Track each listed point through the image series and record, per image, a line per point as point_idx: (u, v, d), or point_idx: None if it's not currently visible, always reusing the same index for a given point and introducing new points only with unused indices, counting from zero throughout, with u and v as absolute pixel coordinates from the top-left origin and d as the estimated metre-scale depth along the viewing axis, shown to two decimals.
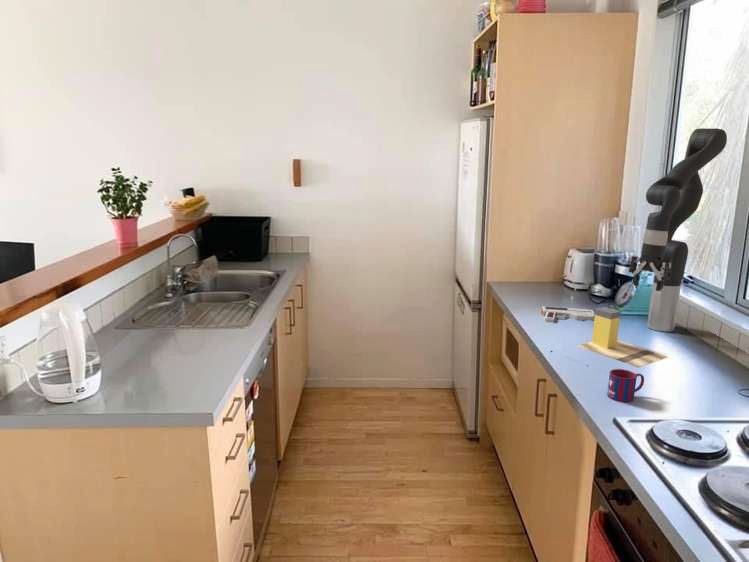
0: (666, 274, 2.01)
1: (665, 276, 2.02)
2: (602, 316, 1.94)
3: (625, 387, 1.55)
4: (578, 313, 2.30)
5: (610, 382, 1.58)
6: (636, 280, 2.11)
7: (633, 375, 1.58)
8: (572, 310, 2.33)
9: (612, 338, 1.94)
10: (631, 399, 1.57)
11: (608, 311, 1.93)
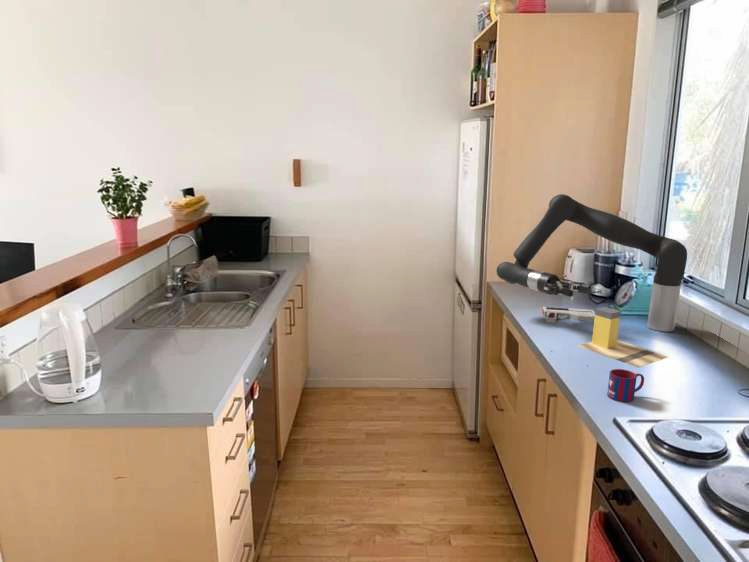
0: (552, 293, 2.04)
1: None
2: (602, 316, 1.94)
3: (625, 387, 1.55)
4: (579, 313, 2.29)
5: (610, 382, 1.58)
6: (582, 291, 2.06)
7: (633, 375, 1.58)
8: (573, 310, 2.33)
9: (612, 338, 1.94)
10: (631, 399, 1.57)
11: (608, 311, 1.93)
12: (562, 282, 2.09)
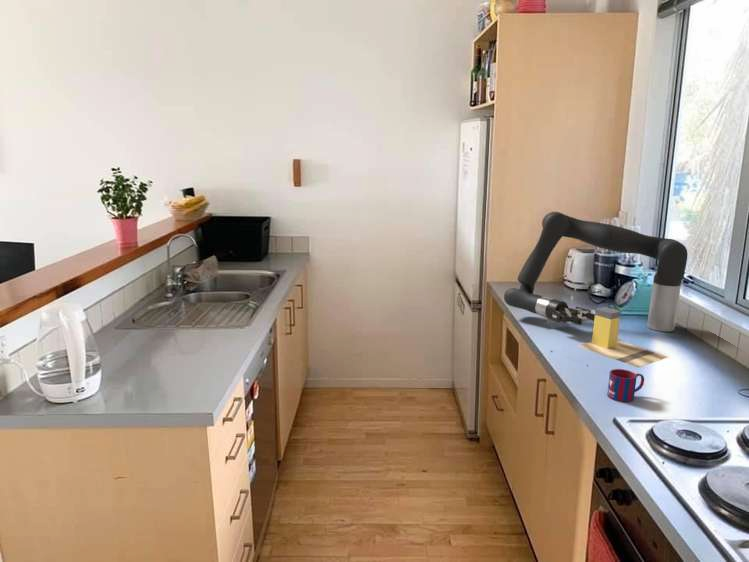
0: (561, 321, 2.02)
1: None
2: (602, 316, 1.94)
3: (625, 387, 1.55)
4: None
5: (610, 382, 1.58)
6: (591, 318, 2.05)
7: (633, 375, 1.58)
8: None
9: (612, 338, 1.94)
10: (631, 399, 1.57)
11: (608, 311, 1.93)
12: (571, 309, 2.08)
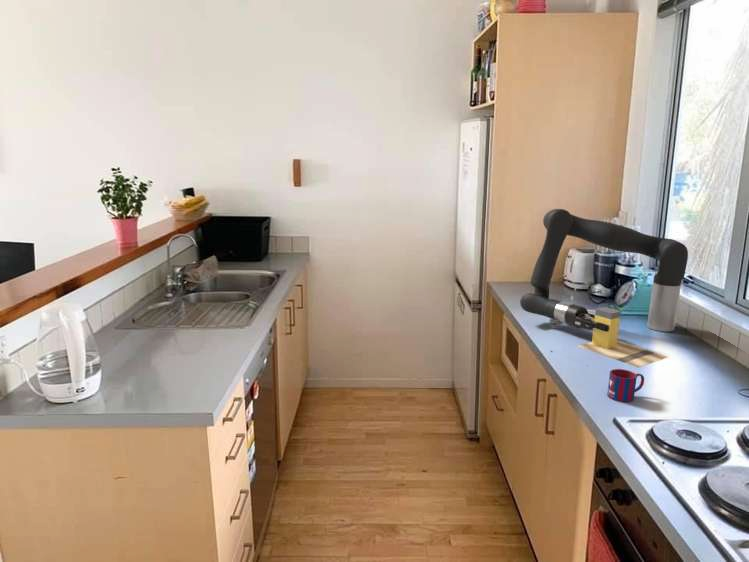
0: None
1: None
2: (602, 316, 1.94)
3: (625, 387, 1.55)
4: None
5: (610, 382, 1.58)
6: None
7: (633, 375, 1.58)
8: None
9: (612, 338, 1.94)
10: (631, 399, 1.57)
11: (608, 311, 1.93)
12: (590, 315, 2.01)
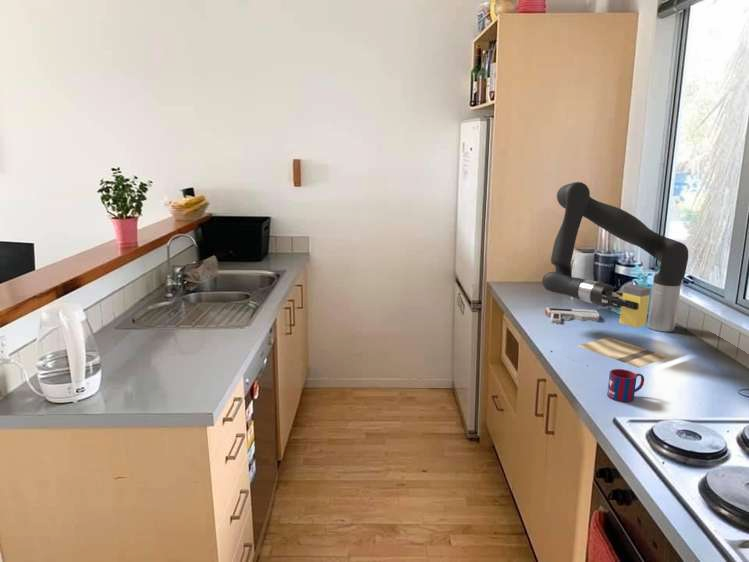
0: (613, 306, 1.86)
1: None
2: (631, 293, 1.84)
3: (625, 387, 1.55)
4: (583, 314, 2.29)
5: (610, 382, 1.58)
6: None
7: (633, 375, 1.58)
8: (576, 311, 2.32)
9: (641, 317, 1.84)
10: (631, 399, 1.57)
11: (637, 288, 1.83)
12: (618, 293, 1.91)
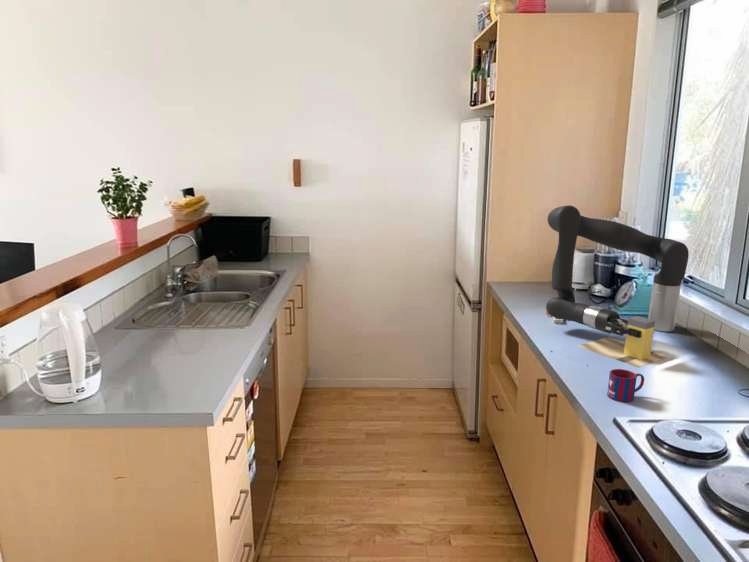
0: (617, 334, 1.86)
1: None
2: (635, 325, 1.84)
3: (625, 387, 1.55)
4: None
5: (610, 382, 1.58)
6: None
7: (633, 375, 1.58)
8: None
9: (646, 349, 1.84)
10: (631, 399, 1.57)
11: (642, 320, 1.83)
12: (623, 320, 1.91)
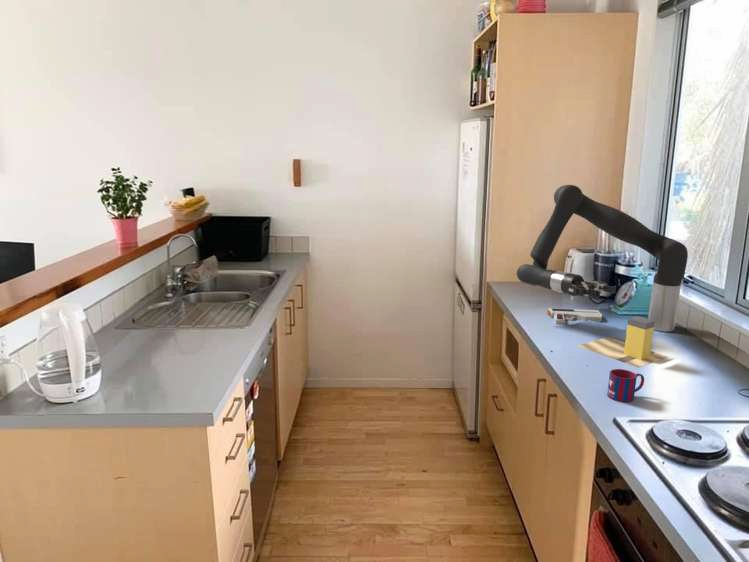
0: (578, 295, 1.97)
1: None
2: (635, 325, 1.84)
3: (625, 387, 1.55)
4: (586, 314, 2.29)
5: (610, 382, 1.58)
6: (609, 291, 1.99)
7: (633, 375, 1.58)
8: (579, 311, 2.32)
9: (646, 349, 1.84)
10: (631, 399, 1.57)
11: (642, 321, 1.83)
12: (587, 282, 2.02)
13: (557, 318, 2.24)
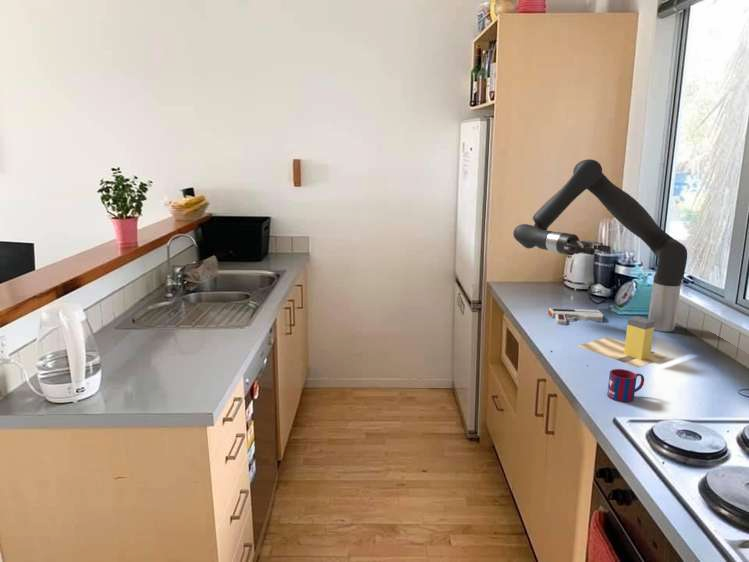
0: (572, 252, 1.97)
1: (575, 253, 1.97)
2: (635, 325, 1.84)
3: (625, 387, 1.55)
4: (587, 314, 2.29)
5: (610, 382, 1.58)
6: (603, 250, 2.00)
7: (633, 375, 1.58)
8: (579, 311, 2.32)
9: (646, 349, 1.84)
10: (631, 399, 1.57)
11: (642, 321, 1.83)
12: (582, 242, 2.03)
13: (558, 318, 2.23)
